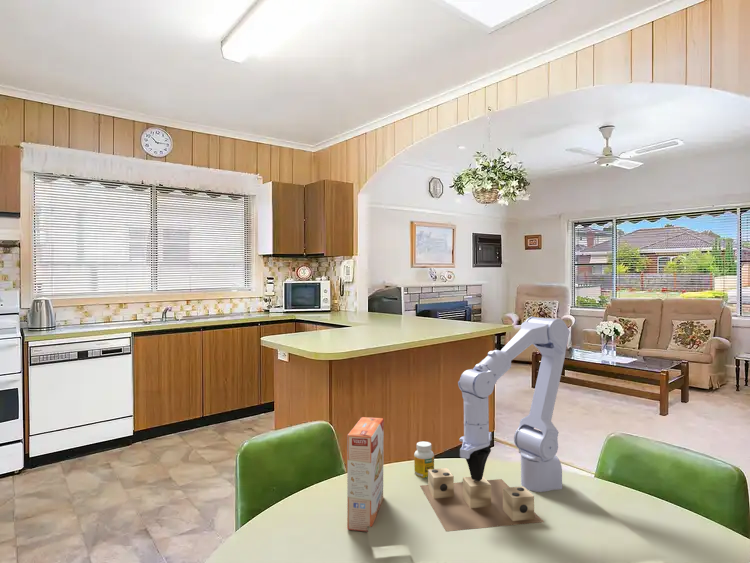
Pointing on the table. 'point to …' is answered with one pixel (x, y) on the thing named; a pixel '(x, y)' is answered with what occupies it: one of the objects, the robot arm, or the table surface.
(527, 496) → the pip cube 2
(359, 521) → the cracker box
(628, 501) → the table surface
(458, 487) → the walnut board
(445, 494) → the pip cube
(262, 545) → the table surface
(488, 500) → the blank cube
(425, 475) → the supplement bottle
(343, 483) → the table surface
